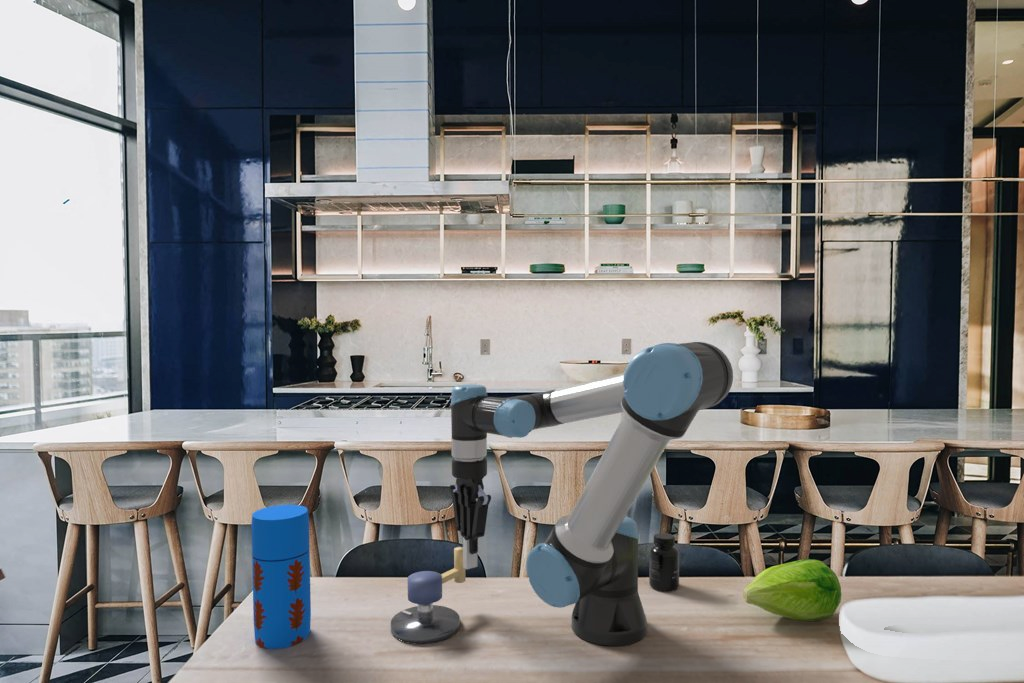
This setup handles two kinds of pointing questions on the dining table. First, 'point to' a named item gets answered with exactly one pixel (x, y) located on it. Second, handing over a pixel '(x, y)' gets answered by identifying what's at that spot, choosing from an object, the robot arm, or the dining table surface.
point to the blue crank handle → (434, 581)
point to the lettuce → (796, 590)
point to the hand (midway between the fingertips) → (470, 566)
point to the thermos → (281, 575)
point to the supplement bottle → (664, 563)
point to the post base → (425, 624)
